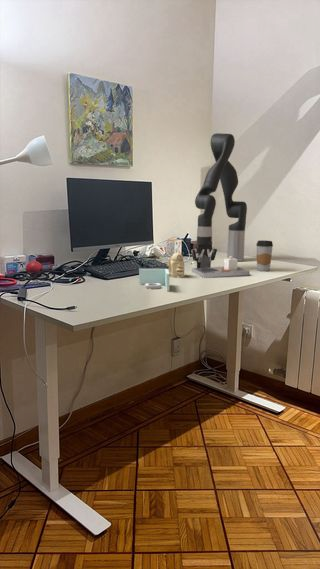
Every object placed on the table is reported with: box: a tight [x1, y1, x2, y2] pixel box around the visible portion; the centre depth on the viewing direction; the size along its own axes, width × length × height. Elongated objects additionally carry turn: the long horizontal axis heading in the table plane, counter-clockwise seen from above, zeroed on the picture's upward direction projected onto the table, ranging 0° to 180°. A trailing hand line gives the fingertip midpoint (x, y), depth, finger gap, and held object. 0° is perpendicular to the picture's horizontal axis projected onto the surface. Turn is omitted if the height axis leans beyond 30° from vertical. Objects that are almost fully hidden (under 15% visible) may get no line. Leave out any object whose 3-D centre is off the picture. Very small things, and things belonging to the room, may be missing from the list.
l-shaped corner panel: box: [138, 268, 170, 292], centre depth 191 cm, size 12×12×8 cm
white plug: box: [223, 256, 238, 270], centre depth 226 cm, size 5×5×8 cm
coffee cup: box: [256, 239, 274, 272], centre depth 237 cm, size 8×8×15 cm
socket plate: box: [191, 266, 250, 279], centre depth 224 cm, size 14×24×3 cm, turn 109°
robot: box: [166, 245, 188, 279], centre depth 214 cm, size 10×8×15 cm
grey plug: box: [200, 255, 211, 268], centre depth 235 cm, size 5×5×8 cm
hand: (203, 268), depth 236 cm, fingers closed on grey plug, 4 cm apart
